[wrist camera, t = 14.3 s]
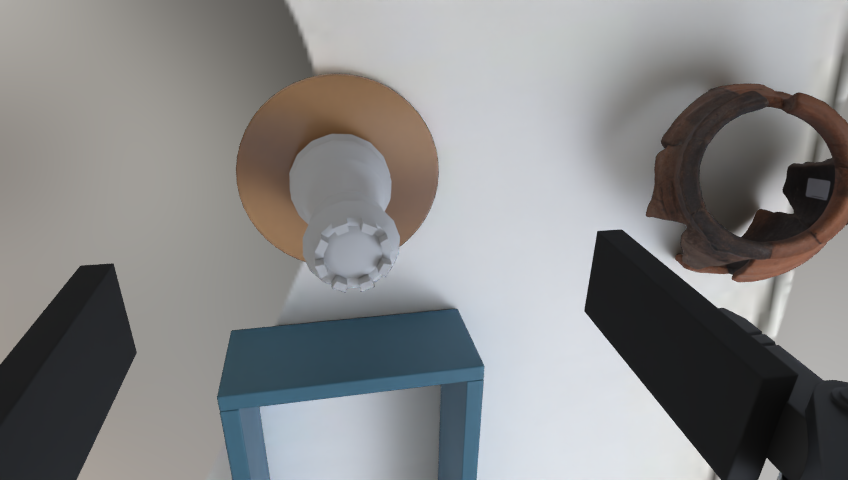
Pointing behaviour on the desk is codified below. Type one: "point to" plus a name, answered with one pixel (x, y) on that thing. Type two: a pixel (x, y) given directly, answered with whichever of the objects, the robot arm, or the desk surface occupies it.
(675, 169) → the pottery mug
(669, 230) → the desk surface
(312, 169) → the rook chess piece
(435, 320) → the tote
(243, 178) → the coaster
